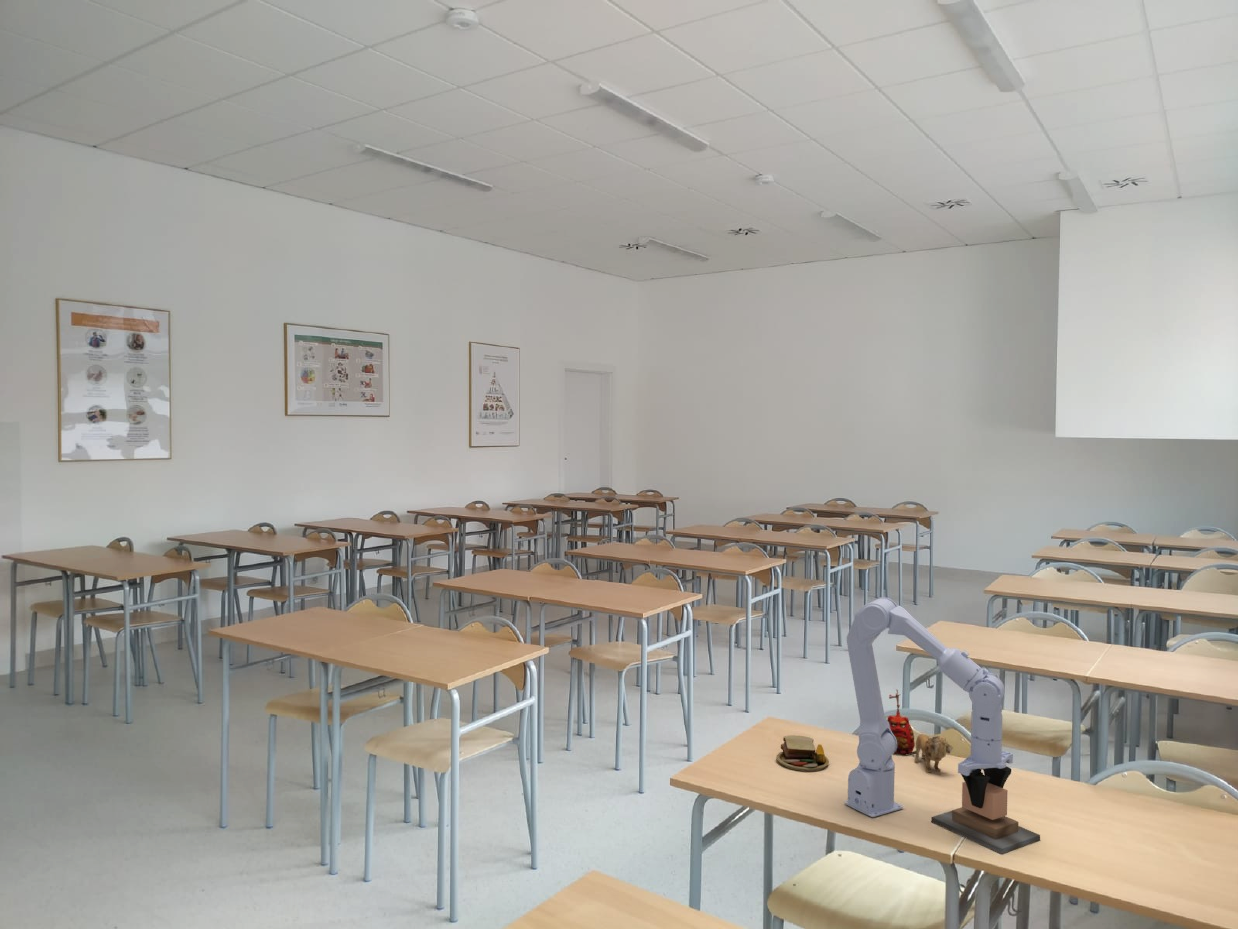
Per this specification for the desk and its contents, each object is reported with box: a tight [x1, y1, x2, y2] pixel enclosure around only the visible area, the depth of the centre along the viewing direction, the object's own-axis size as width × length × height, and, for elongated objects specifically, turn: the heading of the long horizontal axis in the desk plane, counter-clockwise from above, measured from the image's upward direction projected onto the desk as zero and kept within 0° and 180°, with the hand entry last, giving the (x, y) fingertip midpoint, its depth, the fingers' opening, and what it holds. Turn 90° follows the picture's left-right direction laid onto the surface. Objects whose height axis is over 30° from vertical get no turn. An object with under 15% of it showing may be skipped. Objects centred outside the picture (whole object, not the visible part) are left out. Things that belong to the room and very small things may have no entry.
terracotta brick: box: [961, 781, 1008, 820], centre depth 170 cm, size 4×7×5 cm, turn 31°
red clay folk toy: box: [887, 689, 916, 756], centre depth 215 cm, size 8×7×15 cm
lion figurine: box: [911, 733, 954, 773], centre depth 205 cm, size 15×5×9 cm, turn 11°
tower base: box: [930, 806, 1041, 855], centre depth 170 cm, size 12×16×3 cm
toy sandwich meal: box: [776, 734, 830, 772], centre depth 207 cm, size 12×14×5 cm
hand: (985, 804), depth 170 cm, fingers closed on terracotta brick, 4 cm apart
